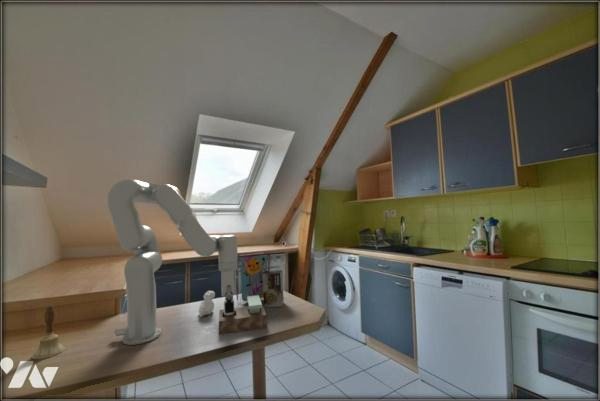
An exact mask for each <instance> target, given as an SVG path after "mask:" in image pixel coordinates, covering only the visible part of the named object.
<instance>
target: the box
mask: <svg viewBox="0 0 600 401" xmlns="http://www.w3.org/2000/svg"><path fill="white" fill-rule="evenodd" d="M271 257H272V256H271V254H270V253H269V252H267V251H266V252H260V251H259V252H252V253H250V252H249V253H240V254H239V253H238V260H240V262H238V265H240V267H239V268H240V271H238V269H236V270H235V288H236V291H235V292H236V293H235V296H236V302H239V303H237V305H240V304H242V302H243V303H244V302H248V301H247V297H248V296H256V295H259V298H260V300H261V299H264V298H263V276H262V274H263V273H264V272H265V271H271V263H272V260H271ZM239 272H240V275H239ZM239 277H240V278H239ZM238 278H239V279H240V280H238ZM239 283H240V287H239ZM239 290H240V293H239ZM239 294H240V295H239Z"/></svg>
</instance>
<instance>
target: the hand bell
mask: <svg viewBox="0 0 600 401" xmlns="http://www.w3.org/2000/svg"><path fill="white" fill-rule="evenodd" d="M55 312H56V311H55V309H54V306H53V305H48V306H47V307H46V310H45V311H44V321H45V324H46V329H45V330H46V331H45V335H44V336H43V337H41V338H40V340H39V346H38V349H37V350H36V352H34V353H33V355H32V356H31V358H32V360H37V361H38V360H43V359H49V358H51V357H52V358H53V357H55V356H57V355H59V354H61V353H63V352H64V351H65V350H66V347H65V345H63V344H61V343H60V339H59V335H58V334H56V333H54V332H53V331H54V326H53V325H54V324H53V323H54V321H55V317H56V314H55Z"/></svg>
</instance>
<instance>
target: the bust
mask: <svg viewBox="0 0 600 401" xmlns="http://www.w3.org/2000/svg"><path fill="white" fill-rule="evenodd" d="M215 297H216V293H215V291H214V290H207V291H206V292H205V293H204V294H203V299H204V300H202V301H201V303H200V306H199V307H198V314H199V317H200V318H202V317H204V316H206V315H207V316H208V315H211V314H212V313H213V311H214V309H215V303H214V301H213V299H214V298H215Z"/></svg>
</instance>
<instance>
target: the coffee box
mask: <svg viewBox="0 0 600 401" xmlns="http://www.w3.org/2000/svg"><path fill="white" fill-rule="evenodd" d="M262 276H263V298H262V299H263V308H275V307H276V308H279V307H280V308H282V307H283V305H284V302H285V299H284V298H285V297H284V281H283V280H284V279H283V278H284V275H283V269H277V270H274V269H270V271H268V270H267V271H265V272H264V273H263V274H262Z"/></svg>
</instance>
